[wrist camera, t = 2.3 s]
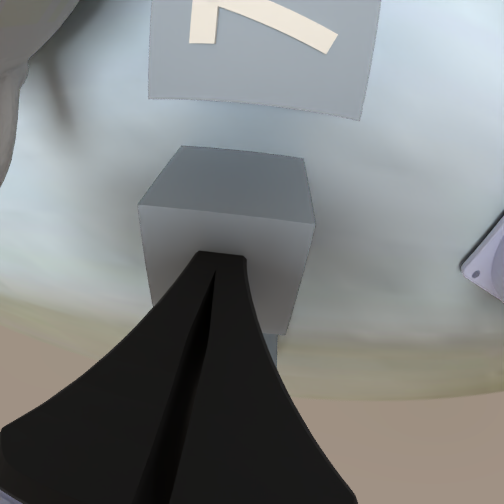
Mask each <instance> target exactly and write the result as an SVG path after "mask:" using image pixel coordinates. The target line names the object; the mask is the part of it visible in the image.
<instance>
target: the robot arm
mask: <svg viewBox="0 0 504 504" xmlns="http://www.w3.org/2000/svg"><path fill="white" fill-rule="evenodd" d="M461 272H462V274H463V276H464V277H465V278H467V279H468V280H470V281H472V282H473V283H475V284H476V285H478V286H479V287H481V288H482V289H484V290H486V291H487V292H489V293H490V294H492V295H493V296H495V297H496V298H498V299H499V300H501V301H502V302H503V304H504V216H503V217H502V218H501V220H500V221H499V222H498V223H497V225H496V226H495V227H494V228H493V230H492V231H491V232H490V233H489V234H488V236H487V237H486V238H485V239H484V240H483V242H482V243H481V244H480V245H479V246H478V247H477V249H476V250H475V251H474V252H473V253H472V254H471V255H470V257H469V258H468V259H467V260H466V261H465V262H464V263H463V265H462V267H461ZM0 504H358V502H357V499H356V496H355V495H354V493H353V491H352V490H351V489H350V488H349V486H348V485H347V484H346V482H345V481H344V480H343V479H342V477H341V476H340V475H339V473H338V472H337V471H336V470H335V468H334V467H333V465H332V464H331V462H330V461H329V460H328V458H327V457H326V455H325V454H324V452H323V451H322V449H321V448H320V447H319V445H318V444H317V442H316V440H315V439H314V437H313V436H312V434H311V432H310V431H309V429H308V427H307V426H306V424H305V422H304V420H303V419H302V417H301V415H300V414H299V412H298V410H297V408H296V407H295V405H294V403H293V402H292V399H291V398H290V396H289V394H288V392H287V390H286V388H285V386H284V384H283V382H282V379H281V377H280V375H279V373H278V371H277V368H276V366H275V364H274V362H273V359H272V357H271V354H270V352H269V349H268V347H267V344H266V341H265V339H264V336H263V333H262V330H261V327H260V324H259V321H258V318H257V314H256V311H255V307H254V304H253V300H252V296H251V291H250V286H249V281H248V274H247V259H246V258H245V257H244V256H243V255H234V254H225V253H216V252H208V251H200V250H199V251H198V252H196V253H195V255H194V256H193V258H192V259H191V260H190V262H189V263H188V265H187V266H186V267H185V269H184V270H183V271H182V273H181V274H180V275H179V277H178V278H177V279H176V281H175V282H174V283H173V284H172V286H171V287H170V288H169V289H168V290H167V292H166V293H165V294H164V295H163V296H162V298H161V299H160V300H159V301H158V302H157V304H156V305H155V306H154V307H153V308H152V309H151V310H150V311H149V312H148V314H147V315H146V316H145V317H144V318H143V319H142V320H141V321H140V322H139V323H138V324H137V326H136V327H135V328H134V329H133V330H132V331H131V332H130V333H129V334H128V335H127V336H126V337H125V338H124V339H123V340H122V341H121V342H119V343H118V344H117V345H116V346H115V347H114V348H113V349H112V350H111V351H110V352H109V353H108V354H106V355H105V356H104V357H103V358H102V359H101V360H99V361H98V362H97V363H96V364H95V365H94V366H92V367H91V368H90V369H89V370H88V371H87V372H85V373H84V374H83V375H82V376H80V377H79V378H78V379H77V380H75V381H74V382H72V383H71V384H70V385H68V386H67V387H65V388H64V389H63V390H61V391H60V392H58V393H57V394H56V395H54V396H53V397H52V398H50V399H49V400H47V401H46V402H44V403H43V404H41V405H40V406H38V407H36V408H35V409H33V410H32V411H30V412H28V413H26V414H25V415H23V416H21V417H20V418H18V419H16V420H15V421H13V422H11V423H9V424H8V425H6V426H4V427H3V428H2V430H1V432H0Z"/></svg>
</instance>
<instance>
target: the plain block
mask: <svg viewBox="0 0 504 504" xmlns="http://www.w3.org/2000/svg"><path fill="white" fill-rule="evenodd" d="M138 212H139V220H140V228H141V236H142V243H143V250H144V257H145V263H146V270H147V276H148V282H149V288H150V293H151V299H152V304H153V307H154V306H155V305H156V304H157V302H158V301H159V300H160V299H161V298H162V296H163V295H164V294H165V293H166V292H167V290H168V289H169V288H170V287H171V286H172V284H173V283H174V282H175V281H176V279H177V278H178V277H179V275H180V274H181V273H182V271H183V270H184V269H185V267H186V266H187V265H188V263H189V262H190V260H191V259H192V258H193V256H194V255H195V253H196V252H198V251H199V250H200V251H208V252H216V253H225V254H234V255H243V256H244V257H245V258H246V259H247V274H248V281H249V286H250V291H251V296H252V300H253V304H254V307H255V311H256V314H257V318H258V321H259V324H260V327H261V330H262V333H266V334H276V335H286V332H287V329H288V325H289V322H290V318H291V315H292V311H293V308H294V304H295V301H296V297H297V294H298V290H299V287H300V283H301V279H302V276H303V272H304V268H305V265H306V261H307V257H308V253H309V249H310V245H311V242H312V238H313V234H314V230H315V226H316V223H315V217H314V211H313V206H312V200H311V195H310V189H309V184H308V179H307V174H306V169H305V164H304V159H303V158H296V157H289V156H282V155H274V154H266V153H258V152H249V151H240V150H230V149H219V148H207V147H193V146H181V147H180V148H179V150H178V151H177V152H176V154H175V155H174V156H173V157H172V159H171V160H170V161H169V163H168V164H167V165H166V166H165V168H164V169H163V170H162V172H161V173H160V174H159V176H158V177H157V178H156V180H155V181H154V183H153V184H152V185H151V187H150V188H149V189H148V191H147V192H146V194H145V195H144V196H143V198H142V199H141V201H140V202H139V203H138Z"/></svg>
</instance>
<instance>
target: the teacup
mask: <svg viewBox="0 0 504 504" xmlns="http://www.w3.org/2000/svg"><path fill="white" fill-rule="evenodd" d="M79 1H80V0H0V187H1V185H2V183H3V181H4V179H5V177H6V174H7V172H8V169H9V166H10V163H11V160H12V154H13V149H14V144H15V138H16V129H17V120H18V106H19V94H20V88H21V87H22V85H23V84H24V83H25V80H26V78H27V75H28V70H29V68H28V60H29V58H30V57H31V56H32V55H34V54H35V53H36V52H37V51H38V50H39V49H40V48H41V47H42V46H43V45H44V44H45V43H46V42H47V41H48V40H49V39H50V38H51V37H52V35H53V34H54V33H55V32H56V31H57V30H58V29H59V28H60V26H61V25H62V24H63V22H64V21H65V20H66V19H67V17H68V16H69V15H70V14H71V12H72V11H73V10H74V8H75V7H76V5H77V4H78V2H79Z"/></svg>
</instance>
